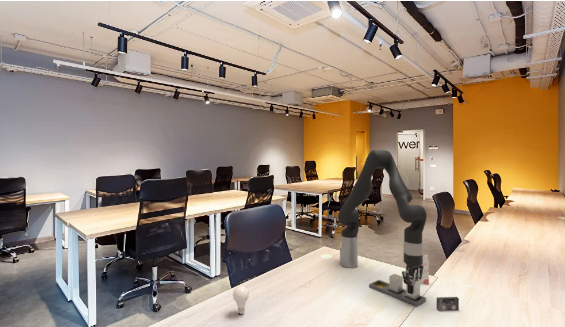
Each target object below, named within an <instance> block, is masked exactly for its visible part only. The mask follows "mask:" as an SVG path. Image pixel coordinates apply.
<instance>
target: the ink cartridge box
mask: <svg viewBox="0 0 565 327" xmlns="http://www.w3.org/2000/svg"><path fill="white" fill-rule="evenodd" d="M429 265H430V263H429V255H428V254H423V264H422V266H423V273H422V279H420V285H427V286H428V285H430V277H429V276H430V274H429V273H430V272H429V271H430V266H429ZM410 277H412V276H410Z"/></svg>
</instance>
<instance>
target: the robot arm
mask: <svg viewBox="0 0 565 327" xmlns="http://www.w3.org/2000/svg"><path fill="white" fill-rule="evenodd" d="M377 169H382V170H385V172H386V174H387V175H388V178H389V179H388V180H389V181H388V188H389V191H390V193H391V195H392V197H393V199H394V200H395V202H396V206H397V210H398V215H399V217H400V218H401V220H402V221H404V222H405V223H408V224H409V223H410V225H409V226H407V227H405V228H404V229H403V230H404V231H403V262H404V264H405V265H406V266H405V270H402V271H401V276H402V277H403V284H405V285H406V284H407V292H408V293H410V294H413V282H414V280H415V278H416V279H419V280H420V279H422V273H423V266H422V264H423V259H424V258H423V255H424V247H423V231H424V228H425V225H426V222H427V217H428V216H427V211H426V209H425V208H424V207H423V206H422V205H419V204H417V205H414V204H413V205H410V204H409V203H410V202H412V200H413V195H412V194H411V192H410V190H409V189H408V187H407V185H406V184H405V183H404V181H403V178H402V176H401V174H400V171H399V168H398V165H397V164H396V161H395V158H394V157H393V155H392V153H391V152H390V151H388V150H385V149H373V150H371V151H370V152H368V154H367V156H366V158H365V161H364V164H363V167H362V169H361V171H360V174H359V175H358V178H357V180H356V181H355V183H354V186H353V187H352V189H351V191H350V193H349V195H348V197H347V199H346V201H345V202H344V203H343V205H342V206H341V208H340V209H339V211H338V214H337V221H338V223H339V224H340V225H342V226H346V227H345V228H344V229H342V230H341V232H340V233H341V235H340V238H341V241H340V242H341V244H340V248H339V264H340V265H341V266H342V267H344V268H349V269H352V268H353V269H354V268H357V267H358V265H359V263H358V262H359V259H358V252H359V251H358V234H359V230H360V229H359V227H360V226H359V225H360V224H359V223H360V215H359V211H358V210H357V208H358V207H359V206H361V205H362V204H363V203H364V202H365V201H367V199H368V198H369V196H370V195H371V193H372V191H373V187H374V186H373V181H372V177H373V174H374V173H375V171H376V170H377ZM410 276H412V277H410ZM410 279H411V281H410Z"/></svg>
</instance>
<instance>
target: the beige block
mask: <svg viewBox="0 0 565 327" xmlns="http://www.w3.org/2000/svg"><path fill="white" fill-rule="evenodd" d="M388 280H389V282H388V283H389V284H390V292H393V293H395V294H398V295H399V294H401V293H402V292H403V289H404V288H403V287H404V286H403V284H404V280H403V275H398V274H396V273H393V274H391V275H389V279H388Z"/></svg>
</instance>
